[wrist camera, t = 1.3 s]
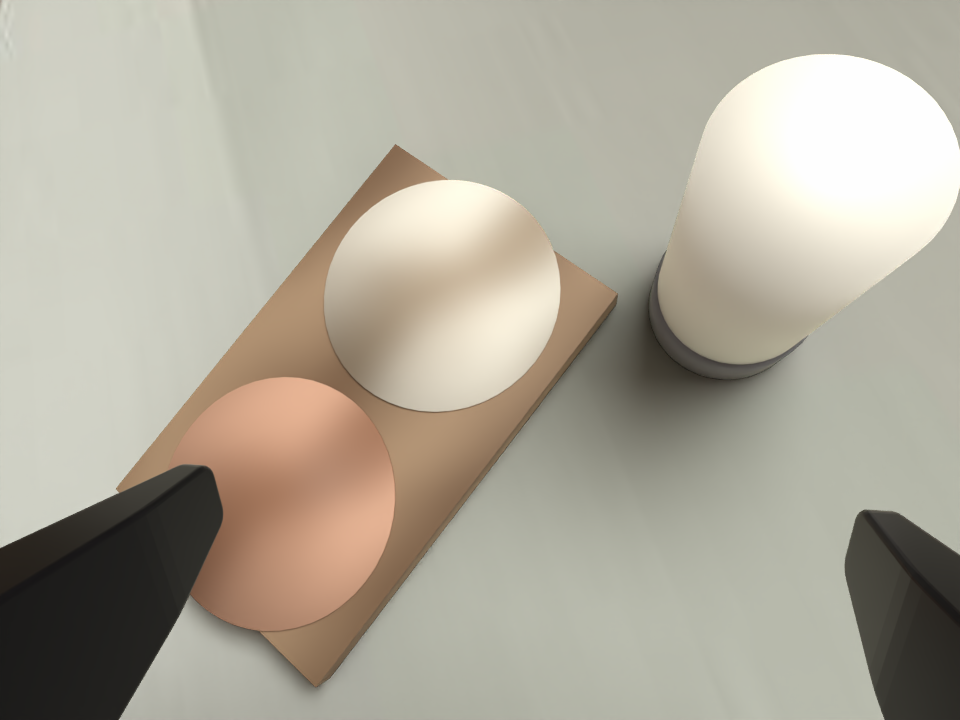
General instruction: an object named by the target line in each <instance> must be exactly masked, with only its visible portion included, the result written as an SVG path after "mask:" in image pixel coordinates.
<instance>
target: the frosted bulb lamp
mask: <svg viewBox="0 0 960 720" xmlns="http://www.w3.org/2000/svg"><path fill="white" fill-rule="evenodd" d="M959 187H960V151H959V146H958V142H957V139H956V136H955V133H954V131H953V128H952V126H951V124H950V122H949V121H948V119H947V117H946V115H945V114H944V112H943V111H942V109H941V108H940V107H939V105H938V104H937V103H936V102H935V100H934V99H933V98H932V97H931V96H930V95H929V94H928V93H927V92H926V91H925V90H924V89H923V88H921V87H920V86H919V85H917V84H916V83H915V82H914V81H912V80H911V79H910V78H908V77H906V76H904V75H903V74H901V73H899V72H898V71H896V70H894V69H891V68H889V67H887V66H885V65H882V64H880V63H877V62H873V61H870V60H867V59H863V58H858V57H853V56H847V55H834V54H822V55H809V56H802V57H796V58H792V59H788V60H784V61H781V62H778V63H776V64H773V65H770V66H768V67H766V68H764V69H762V70H760V71H758V72H756V73H754V74H752V75H751V76H749V77H748V78H746V79H745V80H743V81H742V82H740V83H739V84H738V85H737V86H736V87H735V88H734V89H732V90H731V91H730V92H729V93H728V94H727V95H726V96H725V97H724V99H723V100H722V101H721V102H720V103H719V104H718V106H717V107H716V109H715V110H714V112H713V113H712V115H711V117H710V119H709V121H708V123H707V125H706V127H705V129H704V132H703V135H702V138H701V141H700V145H699V148H698V151H697V154H696V157H695V161H694V164H693V167H692V170H691V173H690V177H689V180H688V183H687V186H686V190H685V193H684V196H683V199H682V202H681V206H680V209H679V212H678V215H677V218H676V222H675V225H674V228H673V231H672V235H671V238H670V241H669V244H668V247H667V250H666V252H665V253H664V255H663V257H662V259H661V261H660V263H659V266H658V269H657V272H656V275H655V279H654V282H653V285H652V289H651V292H650V298H649V317H650V322H651V326H652V329H653V332H654V334H655V336H656V338H657V340H658V342H659V343H660V345H661V346H662V348H663V349H664V350H665V352H666V353H667V354H668V355H669V356H670V357H671V358H672V359H673V360H674V361H676V362H677V363H678V364H680V365H681V366H683V367H684V368H686V369H688V370H689V371H692V372H694V373H696V374H699V375H702V376H705V377H709V378H715V379H726V380H730V379H740V378H745V377H750V376H753V375H756V374H758V373H760V372H763V371H765V370H767V369H768V368H770V367H771V366H773V365H774V364H776V363H777V362H778V361H780V360H781V359H783V358H784V357H785V356H787V355H788V354H789V353H791V352H792V351H793V350H795V349H796V348H797V347H798V346H799V345H800V344H801V343H802V342H803V341H804V340H805V339H806V338H807V336H808V335H809V334H810V333H812V332H813V331H814V330H816V329H817V328H818V327H820V326H821V325H822V324H823V323H825V322H826V321H827V320H829V319H830V318H831V317H833V316H834V315H835V314H837V313H838V312H839V311H841V310H842V309H843V308H845V307H846V306H847V305H849V304H850V303H851V302H853V301H854V300H855V299H857V298H858V297H859V296H861V295H862V294H863V293H865V292H866V291H867V290H868V289H870V288H871V287H872V286H874V285H875V284H876V283H878V282H879V281H880V280H882V279H883V278H884V277H886V276H887V275H888V274H890V273H891V272H892V271H894V270H895V269H896V268H898V267H899V266H900V265H902V264H903V263H904V262H906V261H907V260H908V259H910V258H911V257H912V256H913V255H915V254H916V253H917V252H919V251H920V250H921V249H922V248H923V247H924V246H926V245H927V244H928V243H929V242H930V241H931V240H932V239H933V238H934V237H935V235H936V234H937V233H938V232H939V231H940V230H941V228H942V227H943V225H944V224H945V222H946V220H947V219H948V217H949V216H950V214H951V211H952V209H953V207H954V204H955V202H956V199H957V195H958V191H959Z"/></svg>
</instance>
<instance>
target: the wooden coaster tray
mask: <svg viewBox="0 0 960 720" xmlns="http://www.w3.org/2000/svg"><path fill="white" fill-rule="evenodd" d="M617 297H618V293H616V292H615V291H613V290H612V289H610V288H609V287H607V286H606V285H604V284H603V283H601V282H600V281H598V280H597V279H595V278H594V277H592V276H591V275H589V274H588V273H586V272H585V271H583V270H582V269H580V268H579V267H577V266H576V265H574V264H573V263H571V262H570V261H568V260H567V259H566V258H564V257H563V256H561V255H560V254H558V253H557V252H555V251H554V250H553V248H552V245H551V243H550V241H549V239H548V237H547V235H546V234H545V232H544V230H543V228H542V227H541V226H540V224H539V223H538V222H537V220H536V219H535V218H534V217H533V216H532V215H531V214H530V213H529V212H528V211H527V210H526V209H525V208H524V207H523V206H522V205H520V204H519V203H518V202H517V201H515V200H514V199H513V198H511V197H509V196H507V195H506V194H504V193H502V192H500V191H498V190H496V189H493V188H491V187H488V186H486V185H482V184H478V183H474V182H468V181H460V180H448V179H446V178H445V177H443V176H442V175H440V174H439V173H437V172H436V171H435V170H433V169H432V168H430V167H429V166H427V165H426V164H424V163H423V162H421V161H420V160H418V159H417V158H415V157H414V156H412V155H411V154H409V153H408V152H406V151H405V150H403V149H402V148H400V147H399V146H397V145H396V144H395V145H394V147H393V148H392V149H391V150H390V152H389V153H388V154H387V155H386V157H385V158H384V159H383V160H382V161H381V163H380V164H379V165H378V166H377V168H376V169H375V170H374V171H373V173H372V174H371V175H370V176H369V177H368V179H367V180H366V181H365V182H364V184H363V185H362V186H361V187H360V189H359V190H358V191H357V192H356V193H355V195H354V196H353V197H352V198H351V200H350V201H349V202H348V203H347V205H346V206H345V207H344V208H343V209H342V211H341V212H340V213H339V214H338V216H337V217H336V218H335V219H334V221H333V222H332V223H331V224H330V226H329V227H328V228H327V229H326V230H325V232H324V233H323V234H322V235H321V237H320V238H319V239H318V240H317V242H316V243H315V244H314V245H313V246H312V248H311V249H310V250H309V251H308V253H307V254H306V255H305V256H304V258H303V259H302V260H301V261H300V262H299V264H298V265H297V266H296V267H295V269H294V270H293V271H292V272H291V274H290V275H289V276H288V277H287V278H286V280H285V281H284V282H283V283H282V285H281V286H280V287H279V288H278V290H277V291H276V292H275V293H274V294H273V296H272V297H271V298H270V299H269V301H268V302H267V303H266V304H265V306H264V307H263V308H262V309H261V310H260V312H259V313H258V314H257V315H256V317H255V318H254V319H253V320H252V322H251V323H250V324H249V325H248V326H247V328H246V329H245V330H244V331H243V333H242V334H241V335H240V336H239V338H238V339H237V340H236V341H235V343H234V344H233V345H232V346H231V347H230V349H229V350H228V351H227V352H226V354H225V355H224V356H223V357H222V359H221V360H220V361H219V362H218V363H217V365H216V366H215V367H214V368H213V370H212V371H211V372H210V373H209V375H208V376H207V377H206V378H205V379H204V381H203V382H202V383H201V384H200V386H199V387H198V388H197V389H196V391H195V392H194V393H193V394H192V395H191V397H190V398H189V399H188V400H187V402H186V403H185V404H184V405H183V407H182V408H181V409H180V410H179V411H178V413H177V414H176V415H175V416H174V418H173V419H172V420H171V421H170V423H169V424H168V425H167V426H166V427H165V429H164V430H163V431H162V432H161V434H160V435H159V436H158V437H157V439H156V440H155V441H154V442H153V444H152V445H151V446H150V447H149V448H148V450H147V451H146V452H145V453H144V455H143V456H142V457H141V458H140V460H139V461H138V462H137V463H136V464H135V466H134V467H133V468H132V469H131V471H130V472H129V473H128V474H127V476H126V477H125V478H124V479H123V480H122V482H121V483H120V484H119V485H118V487H117V488H116V490H117V491H118V492H119V493H120V492H122V491H125V490H127V489H129V488H131V487H133V486H135V485H138V484H140V483H142V482H144V481H146V480H148V479H151V478H153V477H155V476H157V475H159V474H161V473H163V472H166V471H168V470H170V469H172V468H174V467H176V466H179V465H182V464H194V465H205V466H208V467H209V468H210V469H211V470H212V471H213V473H214V477H215V480H216V484H217V488H218V491H219V495H220V499H221V502H222V506H223V521H222V525H221V527H220V529H219V532H218V534H217V536H216V538H215V540H214V543H213V545H212V547H211V549H210V551H209V553H208V556H207V558H206V560H205V562H204V564H203V567H202V569H201V571H200V573H199V575H198V577H197V580H196V582H195V584H194V586H193V588H192V590H191V593H190V595H191V596H192V597H193V598H194V599H195V600H196V601H197V602H198V603H199V604H200V605H201V606H203V607H204V608H205V609H206V610H207V611H209V612H210V613H212V614H213V615H215V616H217V617H218V618H220V619H222V620H224V621H226V622H228V623H231V624H233V625H236V626H239V627H243V628H247V629H252V630H258V631H259V632H260V633H261V634H262V635H263V636H264V637H265V638H266V639H267V640H268V641H269V642H270V643H271V644H272V645H273V646H274V647H276V648H277V649H278V650H279V651H280V652H281V653H282V654H283V655H284V656H285V657H286V658H287V659H288V660H289V661H290V662H291V663H292V664H293V665H294V666H295V667H296V668H297V669H298V670H299V671H300V672H301V673H302V674H303V675H304V676H305V677H306V678H307V679H308V680H309V681H310V682H311V683H312V684H313V685H314V686H315V687H317V686H319V685H320V684H322V683H323V682H325V681H326V680H328V679H329V678H330V677H331V676H332V675H333V673H334V672H335V671H336V670H337V668H338V667H339V666H340V664H341V663H342V662H343V660H344V659H345V658H346V656H347V655H348V654H349V653H350V651H351V650H352V649H353V647H354V646H355V645H356V643H357V642H358V641H359V640H360V638H361V637H362V636H363V634H364V633H365V632H366V630H367V629H368V628H369V626H370V625H371V624H372V623H373V621H374V620H375V619H376V617H377V616H378V615H379V613H380V612H381V611H382V609H383V608H384V607H385V606H386V604H387V603H388V602H389V600H390V599H391V598H392V596H393V595H394V594H395V593H396V591H397V590H398V589H399V587H400V586H401V585H402V583H403V582H404V581H405V579H406V578H407V577H408V576H409V574H410V573H411V572H412V570H413V569H414V568H415V566H416V565H417V564H418V562H419V561H420V560H421V559H422V557H423V556H424V555H425V553H426V552H427V551H428V549H429V548H430V547H431V546H432V544H433V543H434V542H435V540H436V539H437V538H438V536H439V535H440V534H441V532H442V531H443V530H444V529H445V527H446V526H447V525H448V523H449V522H450V521H451V519H452V518H453V517H454V515H455V514H456V513H457V512H458V510H459V509H460V508H461V506H462V505H463V504H464V502H465V501H466V500H467V499H468V497H469V496H470V495H471V493H472V492H473V491H474V489H475V488H476V487H477V485H478V484H479V483H480V482H481V480H482V479H483V478H484V476H485V475H486V474H487V472H488V471H489V470H490V468H491V467H492V466H493V465H494V463H495V462H496V461H497V459H498V458H499V457H500V455H501V454H502V453H503V452H504V450H505V449H506V448H507V446H508V445H509V444H510V442H511V441H512V440H513V438H514V437H515V436H516V435H517V433H518V432H519V431H520V429H521V428H522V427H523V425H524V424H525V423H526V421H527V420H528V419H529V418H530V416H531V415H532V414H533V412H534V411H535V410H536V408H537V407H538V406H539V405H540V403H541V402H542V401H543V399H544V398H545V397H546V395H547V394H548V393H549V391H550V390H551V389H552V388H553V386H554V385H555V384H556V382H557V381H558V380H559V378H560V377H561V376H562V374H563V373H564V372H565V371H566V369H567V368H568V367H569V365H570V364H571V363H572V361H573V360H574V359H575V358H576V356H577V355H578V354H579V352H580V351H581V350H582V348H583V347H584V346H585V344H586V343H587V342H588V341H589V339H590V338H591V337H592V335H593V334H594V333H595V331H596V330H597V329H598V327H599V326H600V325H601V324H602V322H603V321H604V320H605V318H606V317H607V316H608V314H609V313H610V312H611V311H612V309H613V308H614V307H615V305H616V304H617Z"/></svg>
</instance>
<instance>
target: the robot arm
mask: <svg viewBox="0 0 960 720" xmlns="http://www.w3.org/2000/svg"><path fill="white" fill-rule="evenodd" d="M222 521H223V506H222V502H221V499H220V495H219V491H218V488H217V484H216V480H215V477H214V473H213V471H212V470H211V469H210V468H209V467H208V466H205V465H194V464H182V465H179V466H176V467H174V468H172V469H170V470H168V471H166V472H163V473H161V474H159V475H157V476H155V477H153V478H151V479H148V480H146V481H144V482H142V483H140V484H138V485H135V486H133V487H131V488H129V489H127V490H125V491H122V492H120V493H118V494H116V495H114V496H112V497H109V498H107V499H105V500H103V501H101V502H99V503H97V504H94V505H92V506H90V507H88V508H86V509H84V510H81V511H79V512H77V513H75V514H73V515H71V516H68V517H66V518H64V519H62V520H60V521H58V522H56V523H53V524H51V525H49V526H47V527H45V528H43V529H40V530H38V531H36V532H34V533H32V534H30V535H27V536H25V537H23V538H21V539H19V540H17V541H15V542H12V543H10V544H8V545H6V546H4V547H2V548H0V720H119V719H120V717H121V715H122V713H123V712H124V710H125V708H126V707H127V705H128V703H129V702H130V700H131V698H132V696H133V695H134V693H135V691H136V690H137V688H138V686H139V684H140V683H141V681H142V679H143V678H144V676H145V674H146V672H147V671H148V669H149V667H150V666H151V664H152V662H153V661H154V659H155V657H156V655H157V654H158V652H159V650H160V649H161V647H162V645H163V643H164V642H165V640H166V638H167V637H168V635H169V633H170V632H171V630H172V628H173V626H174V624H175V623H176V621H177V619H178V617H179V615H180V613H181V611H182V609H183V607H184V605H185V603H186V601H187V599H188V597H189V595H190V593H191V590H192V588H193V586H194V584H195V582H196V580H197V577H198V575H199V573H200V571H201V569H202V567H203V564H204V562H205V560H206V558H207V556H208V553H209V551H210V549H211V547H212V545H213V543H214V540H215V538H216V536H217V534H218V532H219V529H220V527H221V525H222ZM845 576H846V581H847V585H848V589H849V593H850V597H851V601H852V605H853V609H854V613H855V617H856V621H857V625H858V629H859V633H860V637H861V641H862V645H863V649H864V653H865V657H866V661H867V665H868V669H869V673H870V677H871V680H872V684H873V687H874V691H875V694H876V697H877V700H878V703H879V706H880V708H881V711H882V714H883V717H884V719H885V720H960V555H959V554H958V553H956V552H955V551H953V550H952V549H950V548H949V547H947V546H946V545H944V544H943V543H942V542H940V541H939V540H937V539H936V538H934V537H933V536H931V535H930V534H928V533H927V532H925V531H924V530H923V529H921V528H920V527H918V526H917V525H915V524H914V523H912V522H911V521H909V520H908V519H906V518H905V517H904V516H902V515H900V514H899V513H896V512H893V511H880V510H863V511H861V512H859V514H858V515H857V517H856V519H855V523H854V527H853V531H852V534H851V538H850V542H849V546H848V550H847V554H846V558H845Z"/></svg>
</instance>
